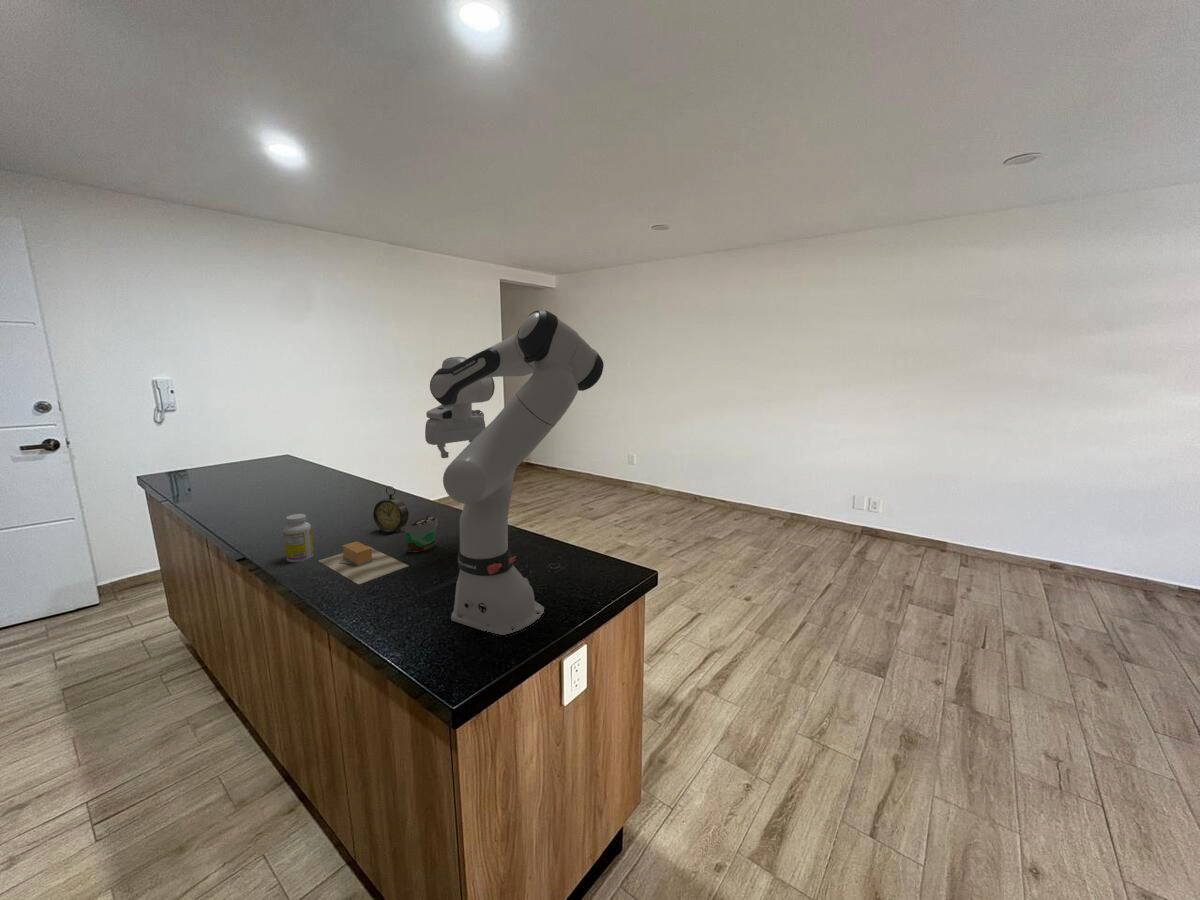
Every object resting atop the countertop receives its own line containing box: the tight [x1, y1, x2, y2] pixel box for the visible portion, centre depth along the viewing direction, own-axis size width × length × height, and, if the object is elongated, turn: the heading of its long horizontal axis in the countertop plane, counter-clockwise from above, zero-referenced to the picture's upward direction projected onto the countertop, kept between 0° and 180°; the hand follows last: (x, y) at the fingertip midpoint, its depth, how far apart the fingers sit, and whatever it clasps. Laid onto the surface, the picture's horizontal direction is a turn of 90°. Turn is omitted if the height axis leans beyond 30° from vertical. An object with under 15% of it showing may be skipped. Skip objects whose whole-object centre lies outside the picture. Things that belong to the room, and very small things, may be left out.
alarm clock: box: [372, 485, 409, 533], centre depth 152 cm, size 11×5×16 cm, turn 76°
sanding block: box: [342, 541, 372, 566], centre depth 128 cm, size 8×4×4 cm, turn 55°
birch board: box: [318, 545, 409, 585], centre depth 127 cm, size 22×14×2 cm, turn 55°
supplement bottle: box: [282, 513, 314, 563], centre depth 130 cm, size 7×7×13 cm
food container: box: [404, 513, 439, 553], centre depth 139 cm, size 12×6×10 cm, turn 168°
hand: (457, 455), depth 141 cm, fingers open, 8 cm apart
